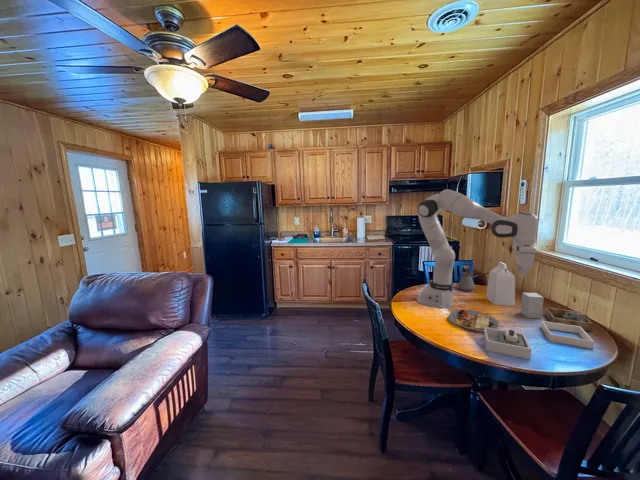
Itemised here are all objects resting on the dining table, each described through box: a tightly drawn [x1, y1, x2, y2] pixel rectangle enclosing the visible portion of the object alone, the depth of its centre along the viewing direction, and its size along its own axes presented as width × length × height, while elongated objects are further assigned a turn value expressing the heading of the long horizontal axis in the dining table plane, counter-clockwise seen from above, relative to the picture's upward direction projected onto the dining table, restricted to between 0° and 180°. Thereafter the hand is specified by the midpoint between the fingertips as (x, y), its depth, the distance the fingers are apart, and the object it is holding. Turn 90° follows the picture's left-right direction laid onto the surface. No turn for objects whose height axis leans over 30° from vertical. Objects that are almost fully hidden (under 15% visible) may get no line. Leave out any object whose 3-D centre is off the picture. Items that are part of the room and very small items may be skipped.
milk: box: [485, 261, 516, 306], centre depth 170 cm, size 12×12×26 cm
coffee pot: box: [457, 271, 490, 292], centre depth 192 cm, size 21×12×15 cm, turn 65°
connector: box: [505, 329, 518, 343], centre depth 119 cm, size 4×4×8 cm
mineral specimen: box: [562, 311, 589, 322], centre depth 139 cm, size 10×8×10 cm
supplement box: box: [520, 292, 545, 319], centre depth 150 cm, size 7×7×13 cm
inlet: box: [497, 332, 525, 347], centre depth 120 cm, size 9×9×4 cm
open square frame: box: [540, 320, 595, 349], centre depth 127 cm, size 15×15×4 cm
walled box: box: [483, 327, 532, 361], centre depth 121 cm, size 16×14×5 cm
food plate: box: [447, 308, 500, 332], centre depth 146 cm, size 25×23×4 cm
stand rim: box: [544, 307, 593, 332], centre depth 142 cm, size 15×15×4 cm
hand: (521, 273), depth 129 cm, fingers open, 8 cm apart
